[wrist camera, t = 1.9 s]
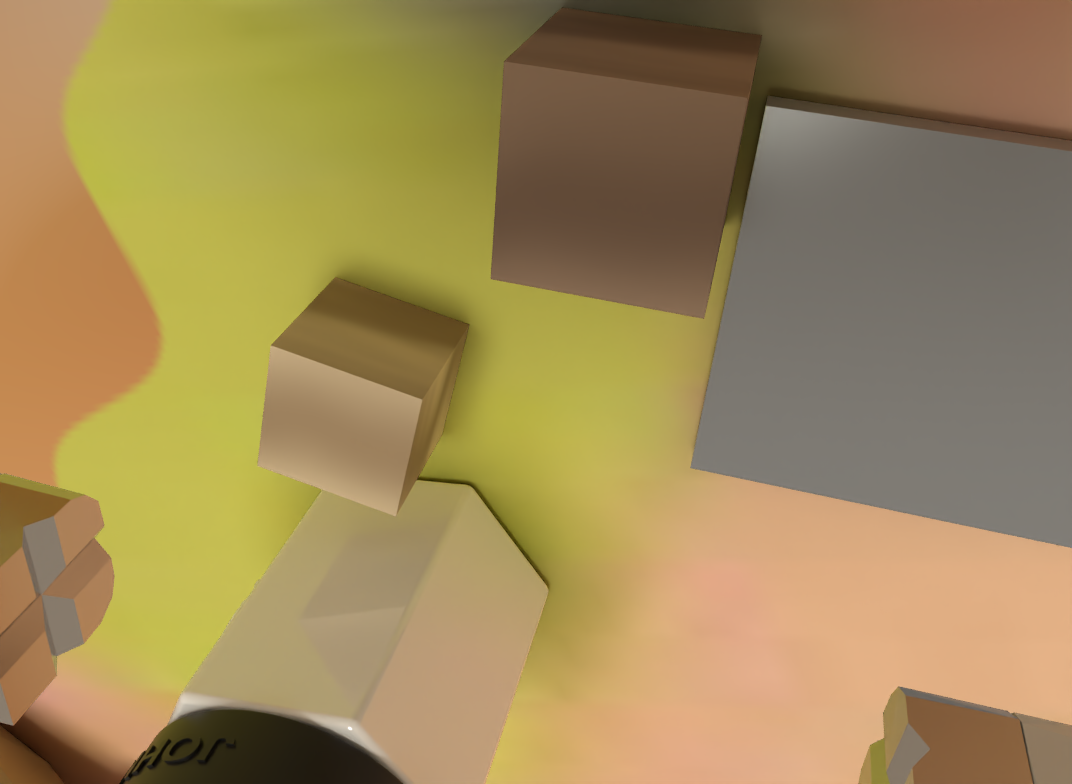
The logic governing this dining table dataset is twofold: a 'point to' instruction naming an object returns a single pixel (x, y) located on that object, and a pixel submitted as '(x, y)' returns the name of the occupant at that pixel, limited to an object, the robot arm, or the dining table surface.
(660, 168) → the walnut block
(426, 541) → the jar
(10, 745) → the low-poly potato
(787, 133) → the coaster
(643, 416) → the dining table surface
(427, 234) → the dining table surface
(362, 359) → the oak block
